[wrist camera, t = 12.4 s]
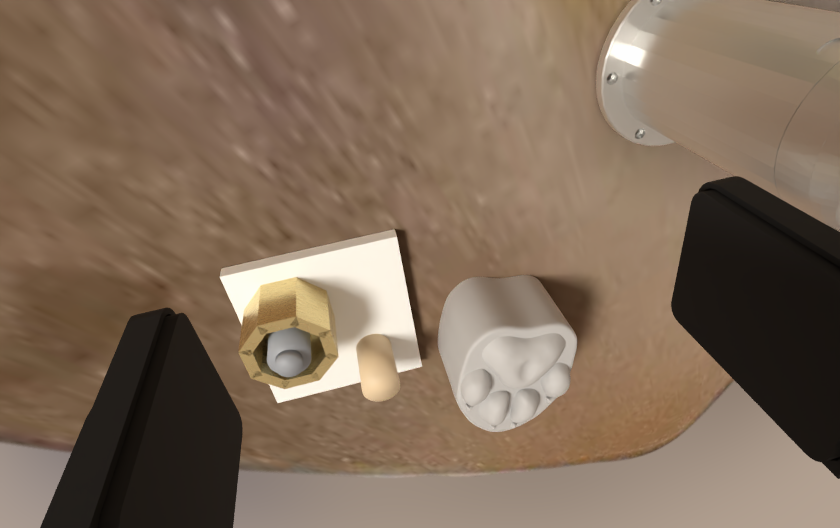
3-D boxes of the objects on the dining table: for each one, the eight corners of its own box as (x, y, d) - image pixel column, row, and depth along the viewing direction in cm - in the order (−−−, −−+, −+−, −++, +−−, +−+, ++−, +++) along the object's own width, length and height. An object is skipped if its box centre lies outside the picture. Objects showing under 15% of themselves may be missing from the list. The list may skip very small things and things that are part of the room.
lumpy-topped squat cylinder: (553, 273, 47) (598, 334, 40) (524, 373, 54) (558, 440, 47) (446, 277, 45) (474, 343, 38) (430, 381, 52) (452, 452, 45)
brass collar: (320, 271, 40) (323, 310, 36) (339, 333, 44) (344, 374, 40) (235, 290, 40) (228, 332, 36) (262, 351, 44) (259, 395, 40)
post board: (394, 229, 41) (412, 282, 35) (419, 357, 50) (436, 418, 44) (221, 268, 40) (208, 330, 34) (278, 393, 49) (275, 460, 42)
